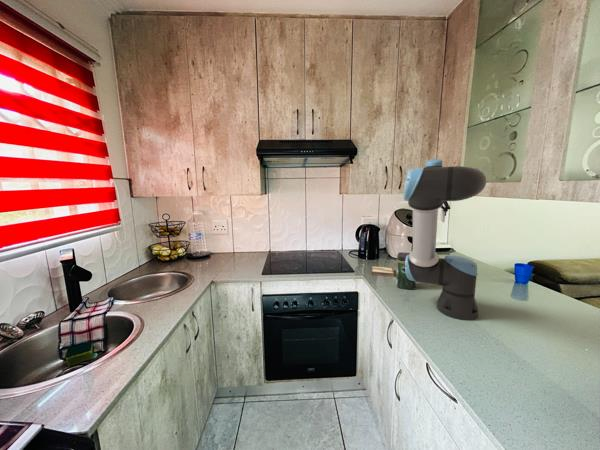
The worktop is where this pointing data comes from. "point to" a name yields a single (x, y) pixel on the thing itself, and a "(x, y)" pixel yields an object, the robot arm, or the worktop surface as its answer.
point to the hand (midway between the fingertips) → (430, 223)
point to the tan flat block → (382, 271)
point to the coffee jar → (403, 273)
